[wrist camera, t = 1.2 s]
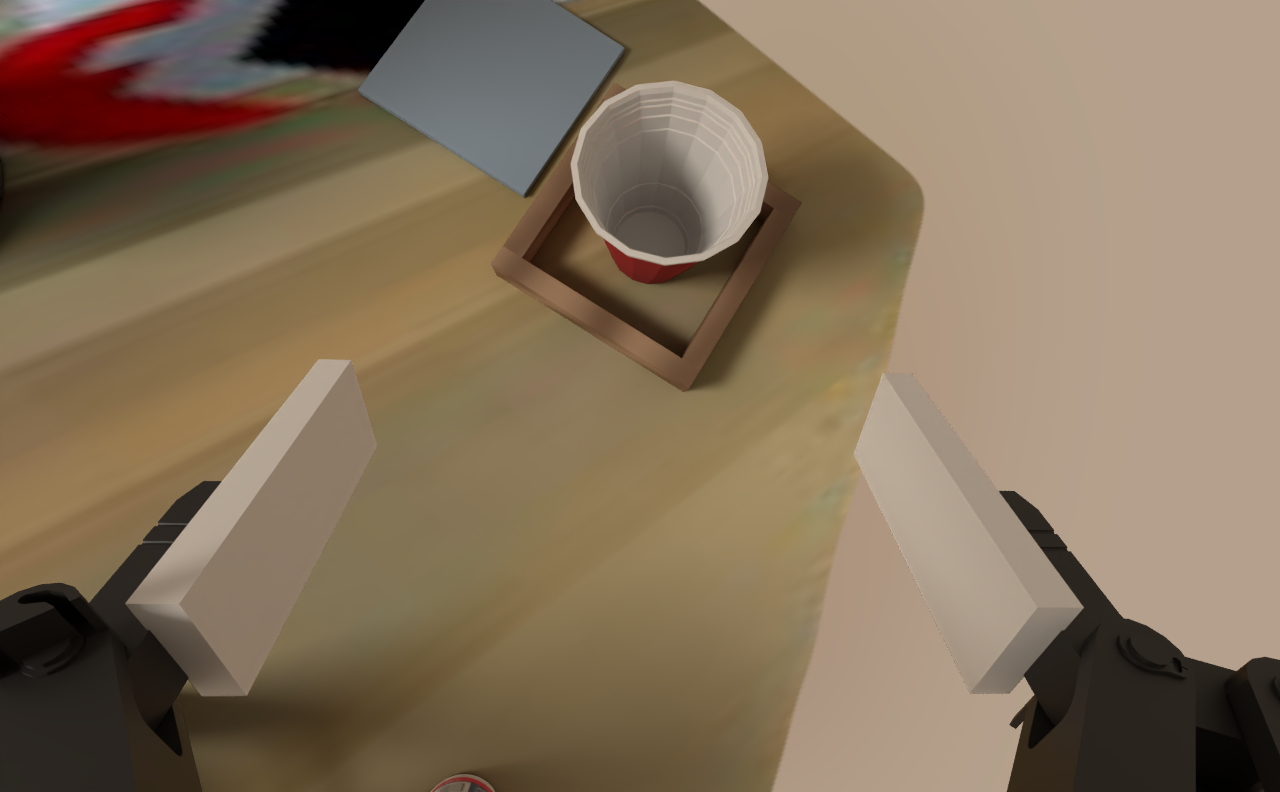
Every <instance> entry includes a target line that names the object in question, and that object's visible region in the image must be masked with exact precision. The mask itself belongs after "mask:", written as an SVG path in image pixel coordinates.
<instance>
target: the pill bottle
mask: <svg viewBox="0 0 1280 792" xmlns="http://www.w3.org/2000/svg"><path fill="white" fill-rule="evenodd" d="M431 792H495V790H494V789H493V787H492V786H491V785H490V784H489V783H488V782H487V781H485V780H484V779H482V778H480V777H478V776H475V775H470V774H459V775H454V776H451V777H449V778H447V779H445V780H443V781H441V782H440V783H439V784H438V785H436V786H435V787H434V788H433V789H432V791H431Z"/></svg>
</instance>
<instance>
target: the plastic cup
mask: <svg viewBox="0 0 1280 792" xmlns="http://www.w3.org/2000/svg"><path fill="white" fill-rule="evenodd" d="M571 170H572V177H573V184H574V192H575V199H576V201H577V203H578V204H579V206H580V208H581V209H582V211H583V212H584V214H585V216H586V217H587V219H588V221H589V222H590V224H591V226H592V227H593V229H594V230H595V232H596V233H597V234H598V235H599V236H601V237H602V238H604V241H605V243H606V245H607V247H608V249H609V250H610V253H611V256H612V258H613V259H614V261H615V263H616V264H617V266H618V268H619V269H620V270H621V271H622V272H623V273H624V274H626V275H627V276H628V277H630V278H631V279H632V280H635V281H639V282H642V283H646V284H655V283H664V282H666V281H668V280H670V279H671V278H673V277H675V276H677V275H678V274H680V273H682V272H684V271H686V270H687V269H689V268H690V267H692V266H693V265H694V264H696V263H697V262H701V261H704V260H706V259H708V258H709V257H711V256H713V255H715V254H716V253H718V252H720V251H722V250H724V249H725V248H727V247H729V246H731V245H733V244H734V243H736V242H738V241H739V239H740V238H741V237H742V235H743V234H744V233H745V231H746V230H747V229H748V228H749V226H750V225H751V224H752V222H753V221H754V220H755V218H756V217H757V216H758V214H759V213H760V211H761V207H762V202H763V198H764V194H765V190H766V185H767V181H768V173H767V167H766V162H765V157H764V152H763V146H762V142H761V140H760V139H759V137H758V136H757V134H756V133H755V131H754V130H753V128H752V127H751V125H750V124H749V122H748V121H747V119H746V118H745V116H744V115H743V113H742V112H741V111H740V110H739V109H737V108H736V107H734V106H733V105H731V104H730V103H729V102H727V101H726V100H724V99H723V98H721V97H720V96H719V95H717V94H716V93H714V92H713V91H711V90H708V89H705V88H701V87H697V86H693V85H689V84H685V83H681V82H678V81H666V82H657V83H647V84H637V85H635V86H633V87H631V88H629V89H627V90H625V91H623V92H621V93H620V94H618V95H616V96H614V97H612V98H610V99H608V100H606V101H604V102H603V103H602V105H601V106H600V107H599V108H598V109H597V110H596V112H595V113H594V114H593V115H592V116H591V117H590V119H589V120H588V121H587V122H586V123H585V125H584V126H583V127H582V128H581V130H580V133H579V137H578V140H577V143H576V147H575V150H574V154H573V157H572V160H571Z"/></svg>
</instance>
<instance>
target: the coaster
mask: <svg viewBox="0 0 1280 792" xmlns="http://www.w3.org/2000/svg"><path fill="white" fill-rule="evenodd" d="M623 53H624V47H623V46H621V45H620V44H618V43H617V42H615V41H613V40H612V39H610V38H609V37H607V36H606V35H604V34H603V33H601V32H600V31H598V30H596V29H595V28H593V27H592V26H590V25H589V24H587V23H586V22H584V21H582V20H581V19H579V18H578V17H576V16H575V15H573V14H572V13H570V12H569V11H567V10H565V9H564V8H562V7H561V6H559V5H558V4H556V3H555V2H553V1H552V0H425V1H424V2H423V4H422V5H421V6H420V8H419V9H418V10H417V12H416V13H415V14H414V16H413V17H412V18H411V20H410V21H409V22H408V24H407V25H406V26H405V28H404V29H403V30H402V32H401V33H400V34H399V36H398V37H397V38H396V40H395V41H394V42H393V44H392V45H391V46H390V48H389V49H388V50H387V52H386V53H385V54H384V55H383V57H382V58H381V59H380V61H379V62H378V63H377V65H376V66H375V67H374V69H373V70H372V71H371V73H370V74H369V75H368V77H367V78H366V79H365V81H364V82H363V83H362V85H361V86H360V87H359V89H358V91H359V93H360V94H361V95H363V96H364V97H366V98H367V99H369V100H371V101H372V102H374V103H375V104H377V105H378V106H380V107H382V108H383V109H385V110H386V111H388V112H390V113H391V114H393V115H394V116H396V117H397V118H399V119H401V120H402V121H404V122H405V123H407V124H408V125H410V126H412V127H413V128H415V129H416V130H418V131H420V132H421V133H423V134H424V135H426V136H427V137H429V138H431V139H432V140H434V141H435V142H437V143H439V144H440V145H442V146H443V147H445V148H446V149H448V150H450V151H451V152H453V153H454V154H456V155H458V156H459V157H461V158H462V159H464V160H465V161H467V162H469V163H470V164H472V165H473V166H475V167H477V168H478V169H480V170H481V171H483V172H484V173H486V174H488V175H489V176H491V177H492V178H494V179H496V180H497V181H499V182H500V183H502V184H503V185H505V186H507V187H508V188H510V189H511V190H513V191H514V192H516V193H518V194H519V195H521V196H522V197H525V196H526V194H527V193H528V192H529V190H530V189H531V187H532V186H533V184H534V183H535V181H536V180H537V178H538V177H539V175H540V174H541V173H542V171H543V170H544V168H545V167H546V165H547V164H548V162H549V161H550V159H551V158H552V156H553V155H554V154H555V152H556V151H557V149H558V148H559V146H560V145H561V143H562V142H563V140H564V139H565V137H566V136H567V135H568V133H569V132H570V130H571V129H572V127H573V126H574V124H575V123H576V121H577V120H578V118H579V117H580V116H581V114H582V113H583V111H584V110H585V108H586V107H587V105H588V104H589V102H590V101H591V99H592V98H593V97H594V95H595V94H596V92H597V91H598V89H599V88H600V86H601V85H602V83H603V82H604V80H605V79H606V78H607V76H608V75H609V73H610V72H611V70H612V69H613V67H614V66H615V64H616V63H617V61H618V60H619V58H620V57H621V56H622V54H623Z"/></svg>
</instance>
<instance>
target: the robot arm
mask: <svg viewBox="0 0 1280 792" xmlns="http://www.w3.org/2000/svg"><path fill="white" fill-rule="evenodd" d="M2 181H3V176H2V166H1V160H0V199H1V194H2ZM376 447H377V444H376V440H375V437H374V434H373V430H372V427H371V424H370V421H369V417H368V414H367V411H366V407H365V404H364V401H363V397H362V394H361V391H360V387H359V384H358V381H357V378H356V374H355V371H354V368H353V364H352V361H351V360H327V359H319V360H318V361H317V362H316V363H315V365H314V366H313V367H312V368H311V370H310V371H309V372H308V373H307V375H306V376H305V377H304V378H303V380H302V381H301V382H300V384H299V385H298V386H297V387H296V389H295V390H294V391H293V392H292V394H291V395H290V396H289V397H288V399H287V400H286V401H285V402H284V404H283V405H282V406H281V408H280V409H279V410H278V411H277V413H276V414H275V415H274V416H273V418H272V419H271V420H270V421H269V423H268V424H267V425H266V426H265V428H264V429H263V430H262V431H261V433H260V434H259V435H258V437H257V438H256V439H255V440H254V442H253V443H252V444H251V445H250V447H249V448H248V449H247V450H246V452H245V453H244V454H243V455H242V457H241V458H240V459H239V461H238V462H237V463H236V464H235V466H234V467H233V468H232V469H231V471H230V472H229V473H228V474H227V476H226V477H225V478H224V479H223V481H203V482H202V483H200V484H199V485H197V486H196V487H195V488H193V489H192V490H190V491H189V492H188V493H186V494H185V495H183V496H182V497H180V498H179V499H178V500H176V502H175V503H174V504H173V505H172V506H171V507H170V509H169V510H168V511H167V512H166V513H165V514H164V516H163V517H162V518H161V519H160V520H159V522H158V526H154V527H153V529H152V530H151V531H150V532H149V533H148V534H147V536H146V537H145V538H144V539H143V544H142V545H138V546H137V547H136V549H135V550H134V551H133V552H132V553H131V554H130V556H129V557H128V558H127V559H126V560H125V562H124V563H123V564H122V565H121V566H120V567H119V569H118V570H117V571H116V572H115V573H114V574H113V576H112V577H111V578H110V579H109V580H108V581H107V583H106V584H105V585H104V586H103V587H102V589H101V590H100V591H99V592H98V593H97V594H96V596H95V597H94V598H93V599H92V600H91V601H90V603H88V602H87V600H86V599H85V598H84V597H83V596H82V595H81V594H80V593H79V591H78V590H77V589H76V588H75V587H73V586H70V585H66V584H63V583H52V584H41V585H38V586H35V587H31V588H28V589H25V590H22V591H19V592H17V593H15V594H13V595H11V596H9V597H7V598H5V599H3V600H1V601H0V792H202V788H201V784H200V780H199V776H198V772H197V768H196V764H195V760H194V756H193V752H192V748H191V744H190V740H189V736H188V732H187V728H186V724H185V720H184V716H183V712H182V709H181V707H180V706H179V704H178V703H177V701H176V700H175V699H176V698H177V696H178V694H179V693H180V691H181V690H182V688H183V686H184V685H185V683H186V681H187V680H189V681H190V682H191V684H192V685H193V686H194V687H195V688H196V690H197V691H198V692H199V693H200V695H201V696H247V695H248V693H249V691H250V689H251V687H252V685H253V683H254V681H255V679H256V678H257V676H258V674H259V672H260V670H261V668H262V666H263V664H264V662H265V660H266V658H267V656H268V655H269V653H270V651H271V649H272V647H273V645H274V643H275V641H276V639H277V637H278V635H279V633H280V632H281V630H282V628H283V626H284V624H285V622H286V620H287V618H288V616H289V614H290V612H291V610H292V609H293V607H294V605H295V603H296V601H297V599H298V597H299V595H300V593H301V591H302V589H303V587H304V586H305V584H306V582H307V580H308V578H309V576H310V574H311V572H312V570H313V568H314V566H315V564H316V562H317V561H318V559H319V557H320V555H321V553H322V551H323V549H324V547H325V545H326V543H327V541H328V539H329V538H330V536H331V534H332V532H333V530H334V528H335V526H336V524H337V522H338V520H339V518H340V516H341V515H342V513H343V511H344V509H345V507H346V505H347V503H348V501H349V499H350V497H351V495H352V493H353V492H354V490H355V488H356V486H357V484H358V482H359V480H360V478H361V476H362V474H363V472H364V470H365V469H366V467H367V465H368V463H369V461H370V459H371V457H372V455H373V453H374V451H375V449H376ZM854 456H855V458H856V460H857V462H858V464H859V466H860V468H861V470H862V472H863V474H864V476H865V478H866V481H867V483H868V485H869V487H870V489H871V491H872V493H873V495H874V497H875V499H876V501H877V503H878V505H879V507H880V509H881V511H882V514H883V515H884V518H885V520H886V522H887V524H888V526H889V528H890V530H891V532H892V534H893V536H894V538H895V540H896V542H897V544H898V547H899V548H900V551H901V553H902V555H903V557H904V559H905V561H906V563H907V565H908V567H909V569H910V571H911V573H912V575H913V577H914V580H915V582H916V583H917V586H918V588H919V590H920V592H921V594H922V596H923V598H924V600H925V602H926V604H927V606H928V608H929V610H930V612H931V614H932V616H933V619H934V621H935V623H936V625H937V627H938V629H939V631H940V633H941V635H942V637H943V639H944V641H945V643H946V645H947V648H948V650H949V651H950V654H951V656H952V658H953V660H954V662H955V664H956V666H957V668H958V670H959V672H960V674H961V676H962V678H963V680H964V683H965V685H966V687H967V689H968V691H969V693H970V694H984V693H985V694H991V693H994V694H995V693H996V694H999V693H1001V694H1003V693H1010V692H1011V691H1012V690H1013V689H1014V688H1015V686H1016V685H1017V684H1018V683H1019V682H1020V681H1021V680H1022V678H1023V677H1025V678H1026V680H1027V682H1028V684H1029V685H1030V687H1031V689H1032V690H1033V692H1034V694H1035V695H1034V696H1033V697H1032V698H1031V699H1030V700H1029V702H1028V703H1027V704H1026V705H1025V706H1024V707H1023V708H1022V709H1021V710H1020V711H1019V712H1018V713H1017V714H1016V716H1015V717H1014V718H1013V720H1012V721H1011V723H1010V725H1011V726H1012V727H1014V728H1015V729H1016V728H1017V727H1018V726H1019V725H1020V724H1021V723H1022V722H1023V721H1024V722H1023V726H1022V730H1021V734H1020V739H1019V743H1018V747H1017V752H1016V756H1015V760H1014V764H1013V768H1012V772H1011V777H1010V781H1009V785H1008V790H1007V792H1280V660H1277V659H1272V658H1268V657H1262V658H1255V659H1252V660H1251V661H1249V662H1248V663H1247V664H1245V665H1244V666H1243V667H1241V668H1240V669H1239V670H1238V671H1234V670H1230V669H1227V668H1223V667H1220V666H1216V665H1212V664H1209V663H1205V662H1202V661H1198V660H1194V659H1191V658H1187V657H1184V655H1183V654H1182V652H1181V651H1180V650H1179V649H1178V648H1177V647H1176V646H1174V645H1173V644H1172V643H1171V642H1170V641H1169V640H1168V639H1167V638H1165V637H1164V636H1163V635H1161V634H1159V633H1158V632H1156V631H1154V630H1153V629H1151V628H1149V627H1148V626H1146V625H1143V624H1140V623H1138V622H1135V621H1133V620H1130V619H1124V618H1123V617H1122V616H1121V615H1120V614H1119V613H1118V612H1117V610H1116V609H1115V608H1114V606H1113V605H1112V604H1111V602H1110V601H1109V600H1108V599H1107V597H1106V596H1105V595H1104V594H1103V592H1102V591H1101V590H1100V588H1099V587H1098V586H1097V585H1096V583H1095V582H1094V581H1093V579H1092V578H1091V577H1090V576H1089V574H1088V573H1087V572H1086V570H1085V569H1084V568H1083V567H1082V565H1081V564H1080V563H1079V562H1078V560H1077V559H1076V558H1075V557H1074V555H1073V554H1072V553H1071V552H1068V551H1067V546H1066V545H1065V544H1064V542H1063V541H1062V540H1061V539H1060V537H1059V536H1058V535H1057V534H1054V530H1053V528H1052V527H1051V526H1050V524H1049V523H1048V522H1047V520H1046V519H1045V518H1044V517H1043V515H1042V514H1041V513H1040V512H1039V510H1038V509H1037V508H1035V507H1034V506H1033V505H1032V504H1030V503H1029V502H1027V501H1026V500H1025V499H1024V498H1022V497H1021V496H1020V495H1019V494H1017V493H1016V492H1015V491H998V490H997V488H996V487H995V486H994V484H993V483H992V481H991V480H990V479H989V477H988V476H987V475H986V473H985V472H984V471H983V469H982V468H981V466H980V465H979V464H978V462H977V461H976V460H975V458H974V457H973V456H972V454H971V453H970V452H969V450H968V449H967V447H966V446H965V445H964V443H963V442H962V441H961V439H960V438H959V436H958V435H957V434H956V432H955V431H954V430H953V428H952V427H951V426H950V424H949V423H948V421H947V420H946V419H945V417H944V416H943V415H942V413H941V412H940V410H939V409H938V408H937V406H936V405H935V404H934V402H933V401H932V400H931V398H930V397H929V395H928V394H927V393H926V391H925V390H924V389H923V387H922V386H921V385H920V383H919V382H918V380H917V379H916V378H915V376H914V375H913V374H905V373H883V374H882V377H881V380H880V383H879V385H878V388H877V391H876V394H875V396H874V399H873V402H872V405H871V408H870V410H869V413H868V416H867V419H866V421H865V424H864V427H863V430H862V433H861V435H860V438H859V441H858V444H857V446H856V449H855V452H854Z"/></svg>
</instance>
